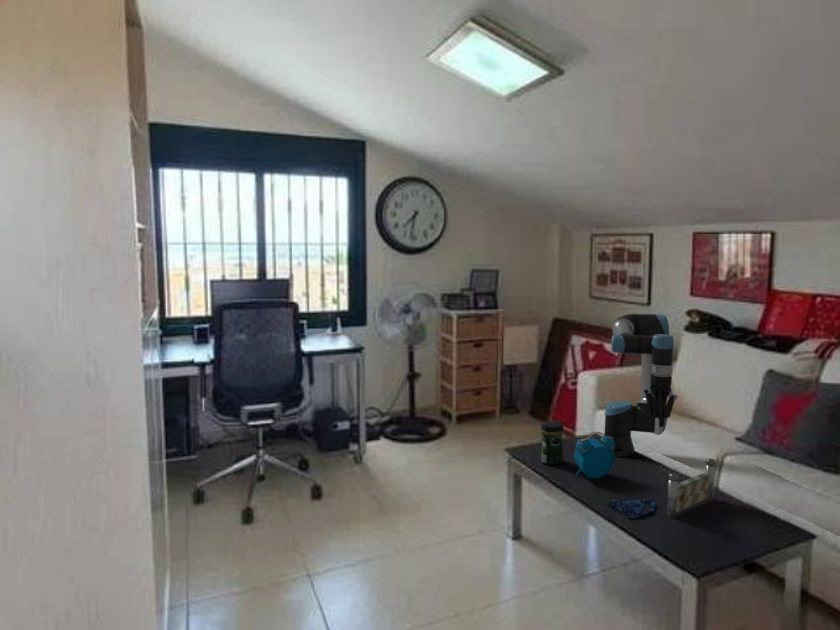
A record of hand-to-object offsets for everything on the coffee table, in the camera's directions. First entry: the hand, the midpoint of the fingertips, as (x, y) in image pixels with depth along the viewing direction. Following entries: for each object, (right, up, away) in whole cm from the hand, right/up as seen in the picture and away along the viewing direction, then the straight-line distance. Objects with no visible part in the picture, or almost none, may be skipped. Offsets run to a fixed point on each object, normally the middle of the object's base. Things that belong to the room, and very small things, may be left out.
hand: (658, 433), depth 225 cm
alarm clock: (-21, -21, +15) cm, 33 cm away
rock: (-14, -25, -13) cm, 32 cm away
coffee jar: (-35, -19, +31) cm, 50 cm away
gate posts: (+6, -24, -13) cm, 28 cm away
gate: (+7, -23, -14) cm, 28 cm away
